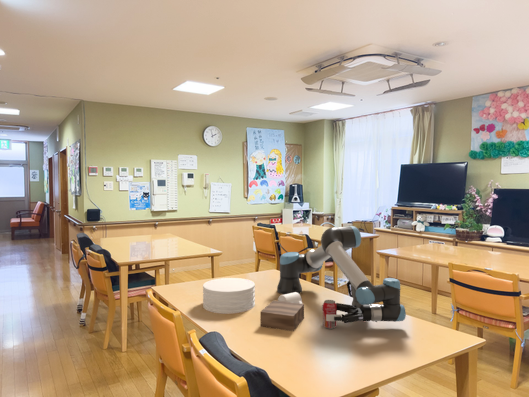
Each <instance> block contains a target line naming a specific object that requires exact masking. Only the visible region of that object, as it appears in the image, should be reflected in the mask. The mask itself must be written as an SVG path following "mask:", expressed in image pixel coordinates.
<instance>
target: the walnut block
mask: <svg viewBox="0 0 529 397" xmlns="http://www.w3.org/2000/svg"><path fill="white" fill-rule="evenodd" d="M304 318H305V303H302V304H300V303H291V302H283V301H278V300H272V301H271V302H270V303H269V304H267V306H265V307H264V308H263V309H262V310H261V311H260V318H259V319H260V324H259V325H260V327H261V328H268V329H273V330H279V331H280V330H282V331H288V332H295V331H296V329H297V328H298V326H300V324H301V323H302V322H303V320H304Z"/></svg>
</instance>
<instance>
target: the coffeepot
mask: <svg viewBox="0 0 529 397" xmlns="http://www.w3.org/2000/svg"><path fill="white" fill-rule="evenodd" d="M346 287H347V291H348V296H349V297H351V298H352V302H351V305H356V306H357V308H360V306H361V305H362V304H360V303H359V302H358V301H357V297H356V289H355V288H354V287H353V285H352V284H351V283H350V281H349V280H348V281H347V282H346Z"/></svg>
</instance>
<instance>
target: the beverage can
mask: <svg viewBox="0 0 529 397" xmlns="http://www.w3.org/2000/svg"><path fill="white" fill-rule="evenodd" d="M336 303H337V302H336V301H335V300H333V299H325V300H324V301H323V303H322V305H323V311H322V326H323V327H324V328H326V329H329V330H330V329H335V328H336V327H337V321H326V315H338V314H337V312H338V310H337V305H336Z"/></svg>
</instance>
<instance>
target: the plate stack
mask: <svg viewBox="0 0 529 397" xmlns="http://www.w3.org/2000/svg"><path fill="white" fill-rule="evenodd" d="M255 288H256V284H255V282H254V281H252V279H251V280H250V279H247V278H240V277H221V278H214V279H210V280H208V281H205V282H204V283H203V284H202V293H203V294H202V302H203V303H202V307H203V309H204V310H206V311H208V312H211V313H215V314H224V315H225V314H226V315H227V314H229V315H230V314H231V315H232V314H238V313H239V314H240V313H244V312H247V311H250V310H252V309H253V308H254V307H255V306H256V297H255V296H256V293H255V292H256V291H255V290H256V289H255Z"/></svg>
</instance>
